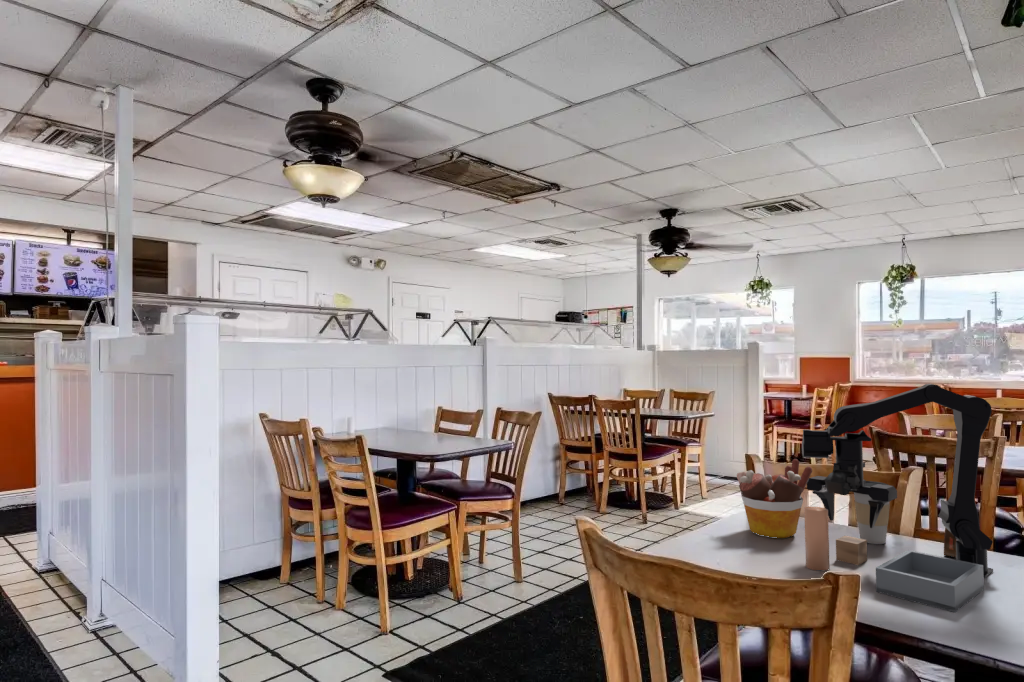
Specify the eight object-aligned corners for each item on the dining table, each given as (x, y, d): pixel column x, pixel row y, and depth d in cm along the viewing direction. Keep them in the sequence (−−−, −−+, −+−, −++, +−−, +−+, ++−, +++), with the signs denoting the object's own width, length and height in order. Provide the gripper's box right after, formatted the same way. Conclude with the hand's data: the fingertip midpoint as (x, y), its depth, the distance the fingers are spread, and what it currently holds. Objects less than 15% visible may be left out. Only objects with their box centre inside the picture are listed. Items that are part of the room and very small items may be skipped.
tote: (909, 572, 143) (908, 549, 143) (983, 589, 132) (983, 565, 132) (876, 591, 131) (875, 567, 132) (955, 612, 121) (954, 586, 121)
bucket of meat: (764, 545, 164) (762, 468, 165) (724, 528, 180) (723, 458, 180) (825, 537, 170) (823, 463, 171) (782, 522, 186) (780, 454, 186)
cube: (845, 555, 155) (845, 535, 155) (867, 560, 151) (866, 539, 151) (836, 560, 152) (835, 539, 152) (858, 565, 148) (857, 544, 148)
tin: (948, 544, 162) (947, 511, 163) (963, 546, 160) (962, 513, 161) (942, 559, 151) (941, 524, 151) (958, 562, 149) (957, 526, 149)
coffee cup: (870, 534, 172) (868, 479, 173) (902, 543, 164) (900, 485, 164) (844, 538, 169) (842, 482, 169) (875, 548, 160) (874, 488, 161)
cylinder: (812, 562, 150) (810, 505, 151) (833, 567, 146) (831, 509, 147) (801, 567, 147) (800, 508, 148) (823, 572, 143) (821, 512, 144)
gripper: (794, 458, 154) (796, 522, 154) (877, 468, 140) (879, 539, 139) (816, 453, 161) (818, 514, 161) (896, 462, 147) (899, 529, 146)
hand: (851, 524), depth 152 cm, fingers open, 9 cm apart
